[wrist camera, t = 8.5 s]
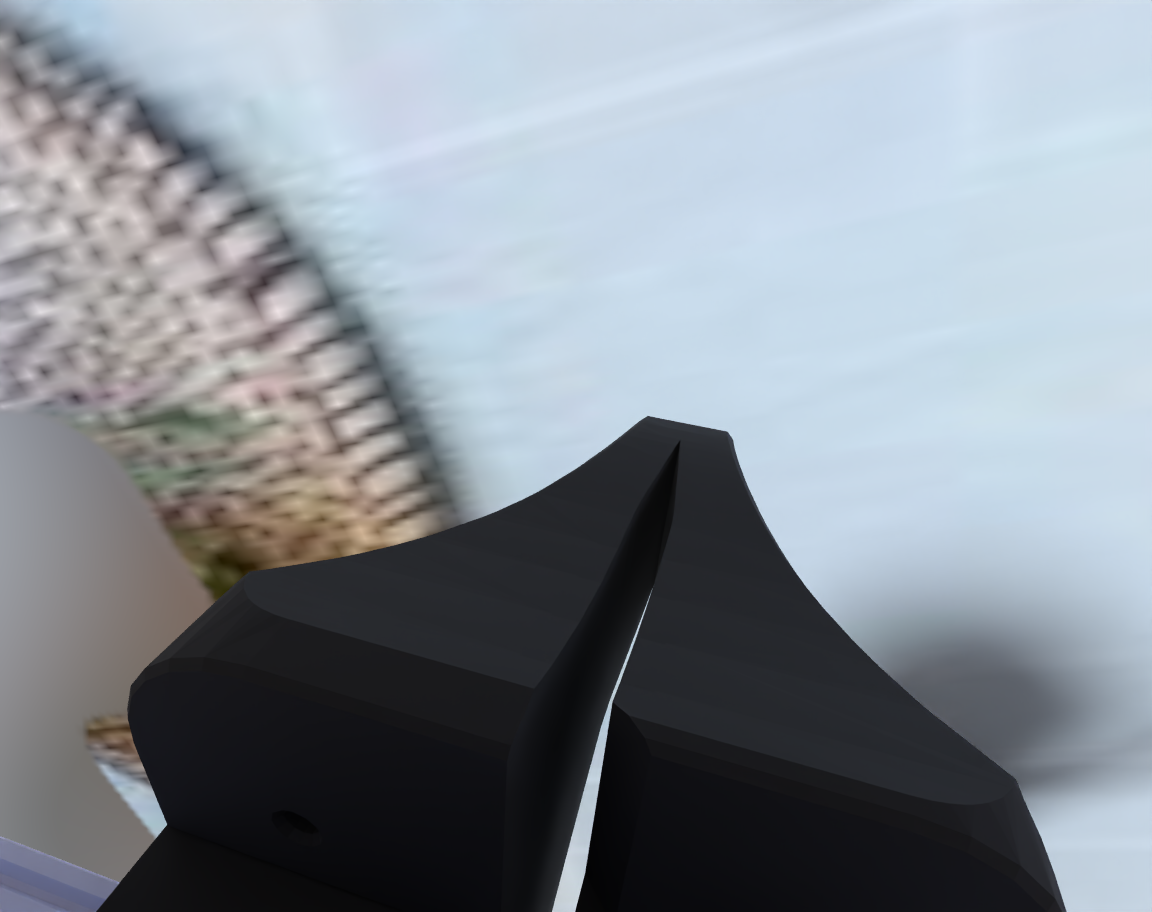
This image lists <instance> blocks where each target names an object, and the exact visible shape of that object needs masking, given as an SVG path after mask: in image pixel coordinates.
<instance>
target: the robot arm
mask: <svg viewBox="0 0 1152 912" xmlns="http://www.w3.org/2000/svg"><path fill="white" fill-rule="evenodd" d="M653 585H654V586H653ZM652 588H653V589H652ZM651 591H652V592H651ZM650 593H651V595H650ZM649 596H650V598H649ZM648 599H649V601H648ZM647 601H648V604H647ZM646 604H647V607H646ZM645 607H646V610H645V613H644V616H643V619H642V622H641V625H640V628H639V631H638V634H637V637H636V640H635V643H634V646H633V648H632V651H631V654H630V657H629V660H628V662H627V665H626V668H625V671H624V673H623V676H622V679H621V682H620V684H619V687H618V689H617V692H616V695H615V697H614V700H613V703H612V709H611V715H610V722H609V728H608V734H607V740H606V747H605V753H604V759H603V766H602V772H601V778H600V784H599V791H598V797H597V803H596V809H595V816H594V822H593V828H592V834H591V841H590V847H589V853H588V859H587V866H586V872H585V876H584V880H583V884H582V888H581V892H580V895H579V899H578V903H577V907H576V911H575V912H1066V909H1065V906H1064V903H1063V899H1062V896H1061V893H1060V890H1059V887H1058V884H1057V880H1056V877H1055V874H1054V871H1053V869H1052V866H1051V863H1050V860H1049V858H1048V855H1047V852H1046V850H1045V847H1044V844H1043V842H1042V839H1041V836H1040V834H1039V832H1038V830H1037V828H1036V825H1035V823H1034V821H1033V819H1032V817H1031V814H1030V812H1029V810H1028V808H1027V806H1026V803H1025V801H1024V799H1023V796H1022V794H1021V791H1020V788H1019V786H1018V783H1017V781H1016V779H1015V778H1013V777H1012V776H1011V775H1010V774H1008V773H1007V772H1006V771H1005V770H1003V769H1002V768H1001V767H999V766H998V765H997V764H996V763H994V762H993V761H992V760H990V759H989V758H988V757H987V756H985V755H984V754H983V753H982V752H980V751H979V750H978V749H976V748H975V747H974V746H973V745H971V744H970V743H969V742H968V741H966V740H965V739H964V738H962V737H961V736H960V735H959V734H957V733H956V732H955V731H953V730H952V729H951V728H950V727H948V726H947V725H946V724H945V723H943V722H942V721H941V720H939V719H938V718H937V717H936V716H934V715H933V714H932V713H931V712H929V711H928V710H927V709H926V708H925V707H923V706H922V705H921V704H920V703H919V702H918V701H916V700H915V699H914V698H913V697H912V696H911V695H910V694H909V693H908V692H907V691H905V690H904V689H903V688H902V687H901V686H900V685H899V684H898V683H897V682H896V681H894V680H893V679H892V678H891V677H890V676H889V675H888V674H887V673H886V672H884V671H883V670H882V669H881V668H880V667H879V666H878V665H877V664H876V663H875V662H874V661H873V660H872V659H871V658H870V657H869V656H868V655H867V654H866V653H865V652H864V651H863V650H862V649H861V648H860V647H859V646H858V645H857V644H856V643H855V642H854V641H853V640H852V639H851V638H850V637H849V636H848V635H847V634H846V632H845V631H844V630H843V629H842V628H841V627H840V626H839V625H838V624H837V623H836V622H835V620H834V619H833V618H832V617H831V616H830V615H829V614H828V613H827V612H826V611H825V609H824V608H823V607H822V606H821V605H820V603H819V602H818V601H817V600H816V599H815V597H814V596H813V595H812V594H811V593H810V591H809V590H808V589H807V588H806V586H805V585H804V583H803V582H802V581H801V579H800V578H799V577H798V575H797V574H796V572H795V571H794V570H793V568H792V567H791V565H790V564H789V562H788V561H787V559H786V557H785V556H784V554H783V553H782V551H781V549H780V548H779V546H778V544H777V543H776V541H775V539H774V537H773V536H772V534H771V532H770V531H769V529H768V527H767V525H766V523H765V521H764V519H763V518H762V516H761V514H760V512H759V510H758V507H757V505H756V503H755V501H754V499H753V497H752V495H751V492H750V490H749V488H748V486H747V483H746V481H745V478H744V476H743V473H742V470H741V468H740V465H739V462H738V459H737V456H736V452H735V448H734V443H733V439H732V438H731V436H730V435H729V433H728V432H726V431H721V430H716V429H711V428H706V427H701V426H695V425H690V424H685V423H680V422H675V421H670V420H665V419H660V418H655V417H650V416H647V417H645V418H644V419H642V420H641V421H639V422H638V423H637V424H635V425H634V426H633V427H632V428H631V429H629V430H628V431H627V432H626V433H624V434H623V435H622V436H621V437H619V438H618V439H617V440H615V441H614V442H613V443H612V444H610V445H609V446H608V447H606V448H605V449H604V450H602V451H601V452H599V453H598V454H597V455H595V456H594V457H592V458H591V459H590V460H588V461H587V462H585V463H584V464H582V465H581V466H580V467H578V468H577V469H575V470H574V471H572V472H570V473H569V474H567V475H565V476H564V477H562V478H560V479H559V480H557V481H556V482H554V483H552V484H551V485H549V486H547V487H546V488H544V489H542V490H541V491H539V492H537V493H535V494H533V495H531V496H529V497H527V498H525V499H523V500H521V501H519V502H517V503H514V504H512V505H510V506H508V507H506V508H503V509H501V510H499V511H497V512H494V513H492V514H489V515H487V516H484V517H482V518H479V519H476V520H473V521H470V522H467V523H465V524H462V525H459V526H456V527H453V528H450V529H448V530H445V531H442V532H439V533H436V534H433V535H430V536H427V537H423V538H420V539H416V540H413V541H409V542H405V543H402V544H398V545H394V546H390V547H386V548H382V549H377V550H373V551H369V552H365V553H360V554H355V555H351V556H346V557H341V558H335V559H329V560H323V561H317V562H311V563H304V564H298V565H292V566H286V567H280V568H274V569H267V570H259V571H251V572H249V573H247V574H246V575H245V576H244V577H243V578H242V579H240V580H239V581H238V582H237V583H236V584H235V585H234V586H232V587H231V588H230V589H229V590H228V591H227V592H226V593H225V594H224V595H223V596H222V597H220V598H219V599H218V600H217V601H216V602H215V603H214V604H213V605H212V606H211V607H210V608H209V609H207V610H206V611H205V612H204V613H203V614H202V615H201V616H200V617H199V618H198V619H197V620H196V621H195V622H194V623H193V624H192V625H191V626H189V627H188V628H187V629H186V630H185V631H184V632H183V633H182V634H181V635H180V636H179V637H178V638H177V639H176V640H175V641H174V642H172V643H171V645H169V646H168V647H167V648H166V649H165V650H164V651H163V652H162V653H161V654H160V655H159V656H158V657H157V658H156V659H154V660H153V661H152V662H151V663H150V664H149V665H148V666H147V667H146V668H145V669H144V670H143V671H142V673H141V674H140V675H139V676H138V678H137V679H136V680H135V681H134V683H133V684H132V685H131V688H130V696H129V701H128V708H127V710H128V721H129V725H130V729H131V733H132V737H133V741H134V744H135V747H136V749H137V752H138V754H139V757H140V759H141V762H142V764H143V766H144V769H145V771H146V774H147V776H148V779H149V781H150V783H151V786H152V788H153V791H154V793H155V796H156V798H157V801H158V803H159V805H160V808H161V810H162V813H163V815H164V818H165V820H166V822H167V826H166V827H165V828H164V829H163V831H162V832H161V833H160V834H159V835H158V837H157V838H156V839H155V840H154V842H153V843H152V844H151V845H150V846H149V848H148V849H147V850H146V851H145V853H144V854H143V855H142V856H141V858H140V859H139V860H138V861H137V862H136V864H135V865H134V866H133V867H132V868H131V870H130V871H129V872H128V873H127V875H126V876H125V877H124V878H123V879H122V881H121V882H117V881H115V880H112V879H110V878H107V877H104V876H102V875H99V874H97V873H94V872H92V871H89V870H86V869H84V868H81V867H79V866H76V865H73V864H71V863H68V862H66V861H63V860H60V859H58V858H55V857H53V856H50V855H48V854H45V853H43V852H40V851H38V850H35V849H32V848H30V847H27V846H25V845H22V844H19V843H17V842H14V841H12V840H9V839H6V838H4V837H1V836H0V912H552V909H553V905H554V901H555V898H556V894H557V890H558V886H559V882H560V878H561V874H562V871H563V867H564V863H565V859H566V855H567V852H568V848H569V844H570V840H571V836H572V833H573V829H574V825H575V821H576V818H577V814H578V810H579V806H580V803H581V799H582V795H583V791H584V787H585V784H586V780H587V776H588V773H589V769H590V765H591V762H592V758H593V754H594V751H595V747H596V743H597V739H598V736H599V732H600V728H601V725H602V722H603V719H604V716H605V713H606V710H607V707H608V704H609V701H610V698H611V695H612V693H613V690H614V688H615V685H616V682H617V680H618V677H619V675H620V672H621V669H622V667H623V664H624V662H625V659H626V656H627V654H628V651H629V649H630V646H631V643H632V641H633V638H634V635H635V633H636V630H637V628H638V625H639V622H640V620H641V617H642V615H643V612H644V609H645Z"/></svg>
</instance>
